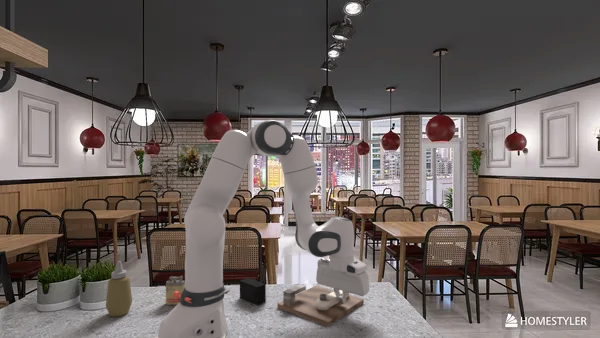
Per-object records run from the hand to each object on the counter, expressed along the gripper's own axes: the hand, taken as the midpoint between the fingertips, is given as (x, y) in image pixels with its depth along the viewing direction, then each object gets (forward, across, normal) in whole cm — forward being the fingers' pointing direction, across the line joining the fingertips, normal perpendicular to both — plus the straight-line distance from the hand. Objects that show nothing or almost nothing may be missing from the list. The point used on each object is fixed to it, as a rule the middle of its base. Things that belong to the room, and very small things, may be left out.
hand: (341, 301), depth 117 cm
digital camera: (+3, -30, -14) cm, 33 cm away
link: (+1, -3, 0) cm, 4 cm away
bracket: (+4, -49, -17) cm, 52 cm away
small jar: (+3, -50, -35) cm, 61 cm away
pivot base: (+3, -7, -2) cm, 8 cm away
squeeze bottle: (+3, -57, -52) cm, 77 cm away
